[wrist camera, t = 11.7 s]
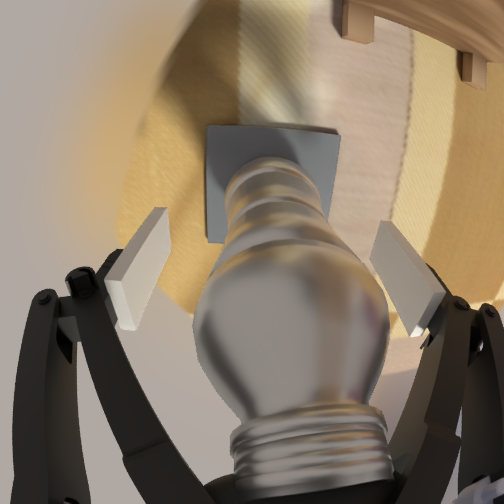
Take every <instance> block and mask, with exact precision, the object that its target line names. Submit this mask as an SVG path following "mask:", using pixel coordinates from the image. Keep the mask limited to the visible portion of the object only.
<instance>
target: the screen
mask: <svg viewBox="0 0 504 504" xmlns="http://www.w3.org/2000/svg"><path fill="white" fill-rule="evenodd" d="M374 15H375V16H379V17H382V18H385V19H388V20H391V21H393V22H396V23H399V24H402V25H404V26H407V27H409V28H412V29H414V30H417V31H419V32H421V33H424V34H426V35H428V36H430V37H432V38H435V39H437V40H439V41H441V42H443V43H445V44H447V45H449V46H451V47H453V48H454V49H456V50H458V51H460V52H462V53H463V67H462V81H463V82H464V83H466V84H468V85H470V86H472V87H474V88H476V89H481V90H486V73H487V62H494V63H504V0H343V15H342V38H343V39H347V40H351V41H355V42H359V43H363V44H368V43H371V42H374Z"/></svg>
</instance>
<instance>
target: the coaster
mask: <svg viewBox="0 0 504 504" xmlns="http://www.w3.org/2000/svg"><path fill="white" fill-rule="evenodd" d="M340 141H341V135H337V134H330V133H323V132H316V131H307V130H298V129H288V128H276V127H261V126H241V125H207V138H206V182H207V231H208V243H220V244H224V242H225V238H226V236H227V232H228V220H227V216H226V211H225V193H226V188H227V185H228V183H229V181H230V179H231V178H232V176H233V175H234V174H235V172H236V171H237V170H239V169H240V168H241V167H242V166H243V165H245V164H246V163H248V162H250V161H252V160H254V159H257V158H261V157H269V156H272V157H280V158H284V159H287V160H290V161H292V162H294V163H296V164H298V165H300V166H301V167H302V168H303V169H305V170H306V171H307V172H308V173H309V175H310V176H311V177H312V178H313V180H314V182H315V184H316V186H317V189H318V192H319V196H320V199H321V208H322V211H323V213H324V216H325V218H326V220H327V221H328V215H329V210H330V204H331V199H332V193H333V187H334V181H335V175H336V168H337V162H338V155H339V148H340Z"/></svg>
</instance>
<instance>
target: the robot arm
mask: <svg viewBox="0 0 504 504" xmlns="http://www.w3.org/2000/svg"><path fill="white" fill-rule="evenodd" d="M171 249H172V248H171V239H170V230H169V220H168V209H167V207H155V208H154V209H153V210H152V212H151V213H150V214H149V215H148V217H147V218H146V219H145V221H144V222H143V223H142V225H141V226H140V228H139V229H138V230H137V232H136V233H135V234H134V236H133V237H132V239H131V240H130V241H129V243H128V244H127V246H126V247H125V249H116V250H115V251H114V252H112V253H111V254H110V255H109V256H108V257H107V259H106V260H105V262H104V263H103V264H102V266H101V267H100V269H99V270H98V272H97V273H96V274H95V271H94V270H93V269H92V268H90V267H79V268H76V269H74V270H72V271H71V272H70V273H69V274H68V275H67V276H66V279H65V283H66V285H67V288H68V290H69V293H70V295H71V296H66V297H58V295H57V293H56V291H55V290H53V289H45V290H42V291H40V292H38V293H37V294H36V295H35V296H34V298H33V300H32V303H31V306H30V310H29V314H28V318H27V322H26V326H25V330H24V335H23V339H22V344H21V350H20V355H19V361H18V367H17V375H16V382H15V392H14V403H13V424H12V445H13V465H14V481H13V487H12V493H11V501H10V504H91V499H90V491H89V485H88V480H87V475H86V470H85V465H84V458H83V452H82V445H81V437H80V428H79V418H78V403H77V342H80V341H81V343H82V346H83V350H84V354H85V358H86V361H87V364H88V368H89V371H90V374H91V377H92V380H93V383H94V386H95V389H96V392H97V395H98V397H99V400H100V403H101V405H102V408H103V410H104V413H105V415H106V418H107V420H108V423H109V425H110V427H111V429H112V432H113V434H114V436H115V438H116V441H117V443H118V444H119V447H120V449H121V451H122V454H123V463H124V466H125V468H126V470H127V472H128V474H129V476H130V478H131V479H132V481H133V483H134V485H135V486H136V488H137V490H138V491H139V493H140V495H141V496H142V498H143V500H144V501H145V503H146V504H441V501H442V499H443V497H444V494H445V492H446V489H447V486H448V484H449V481H450V478H451V475H452V473H453V469H454V467H455V463H456V460H457V457H458V453H459V450H460V446H461V451H460V462H459V473H458V498H457V499H455V500H453V501H452V502H451V504H504V327H503V324H502V321H501V318H500V315H499V313H498V311H497V310H496V309H495V307H494V306H492V305H490V304H487V303H484V304H482V305H481V307H480V309H479V310H474V309H471V308H470V305H469V304H468V302H466V301H465V300H464V299H463V298H461V297H459V296H453V295H452V294H451V292H450V291H449V290H448V288H447V287H446V285H445V284H444V283H443V281H441V278H440V277H439V276H438V274H437V273H436V272H435V270H434V269H433V268H432V267H430V266H429V265H428V264H427V263H425V262H424V261H423V260H422V258H421V257H420V256H419V254H418V253H417V252H416V251H415V249H414V248H413V247H412V246H411V244H410V243H409V242H408V241H407V239H406V238H405V237H404V236H403V235H402V233H401V232H400V231H399V230H398V229H397V228H396V226H395V225H394V224H393V223H392V222H391V221H382V220H381V221H380V225H379V228H378V232H377V235H376V239H375V242H374V246H373V249H372V252H371V255H370V261H371V263H372V264H373V266H374V268H375V270H376V272H377V273H378V275H379V277H380V279H381V281H382V283H383V285H384V286H385V288H386V290H387V292H388V294H389V296H390V298H391V300H392V302H393V304H394V306H395V308H396V310H397V312H398V314H399V316H400V318H401V320H402V322H403V324H404V326H405V328H406V331H407V333H408V335H409V337H416V336H422V334H423V333H424V331H425V329H426V328H428V329H429V331H430V333H429V335H428V336H427V338H426V339H425V341H424V342H423V344H422V345H421V347H420V349H422V348H423V347H424V350H423V353H422V357H421V360H420V364H419V367H418V370H417V374H416V376H415V380H414V383H413V386H412V388H411V391H410V394H409V397H408V400H407V402H406V405H405V408H404V410H403V413H402V415H401V417H400V420H399V422H398V425H397V427H396V429H395V432H394V434H393V436H392V438H391V440H390V442H389V444H388V448H389V452H390V456H391V460H392V464H393V468H394V472H393V476H394V480H393V481H391V482H388V481H387V480H382V481H375V482H369V483H364V484H358V485H353V486H347V487H342V488H336V489H330V490H324V491H318V492H311V493H304V494H297V495H289V496H281V497H273V498H264V499H257V500H250V501H245V502H240V501H238V493H236V484H235V478H234V474H229V475H225V476H222V477H220V478H217V479H215V480H213V481H211V482H209V483H207V484H206V485H204V486H203V485H202V483H201V482H200V481H199V479H198V478H197V477H196V475H195V474H194V473H193V471H192V470H191V468H189V466H188V464H187V463H186V461H185V460H184V459H183V457H182V456H181V454H180V453H179V451H178V450H177V448H176V447H175V445H174V443H173V442H172V440H171V439H170V437H169V435H168V434H167V432H166V431H165V429H164V427H163V426H162V424H161V422H160V421H159V419H158V417H157V415H156V413H155V412H154V410H153V408H152V406H151V405H150V403H149V401H148V399H147V397H146V395H145V393H144V391H143V390H142V388H141V385H140V383H139V381H138V379H137V378H136V375H135V373H134V371H133V369H132V367H131V365H130V362H129V361H128V358H127V356H126V354H125V351H124V349H123V347H122V344H121V342H120V340H119V337H118V335H117V332H116V330H115V324H116V322H117V320H118V322H119V325H120V327H121V329H125V330H132V331H137V329H138V326H139V323H140V321H141V318H142V316H143V314H144V311H145V309H146V306H147V304H148V301H149V299H150V297H151V294H152V292H153V290H154V287H155V285H156V283H157V280H158V278H159V276H160V274H161V271H162V269H163V267H164V265H165V262H166V260H167V258H168V256H169V254H170V252H171ZM482 343H483V348H482V350H481V351H480V346H481V345H482ZM461 405H462V432H461V438H460V437H459V436H456V434H455V432H456V428H457V423H458V419H459V415H460V410H461Z"/></svg>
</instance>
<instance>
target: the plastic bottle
mask: <svg viewBox="0 0 504 504" xmlns="http://www.w3.org/2000/svg"><path fill="white" fill-rule="evenodd" d="M225 211H226V216H227V220H228V232H227V236H226V238H225V242H224V245H223V248H222V252H221V254H220V256H219V258H218V260H217V262H216V264H215V266H214V268H213V270H212V272H211V274H210V276H209V278H208V280H207V282H206V284H205V286H204V288H203V290H202V292H201V294H200V298H199V301H198V304H197V306H196V309H195V312H194V318H193V333H194V339H195V345H196V351H197V357H198V361H199V363H200V365H201V367H202V369H203V371H204V372H205V374H206V376H207V377H208V379H209V380H210V382H211V384H212V385H213V387H214V388H215V390H216V392H217V393H218V394H219V396H220V397H221V398H222V399H223V400H224V402H225V403H226V404H227V405H228V406H229V408H231V410H232V411H233V412H234V413H235V414H236V416H237V417H238V418H239V419H240V420H241V424H242V425H240V426H239V427H238V428H236V429H235V430H234V431H233V432H232V433H231V435H230V455H231V456H232V457H233V459H234V478H235V484H236V493H238V501H240V502H245V501H250V500H257V499H264V498H273V497H281V496H289V495H297V494H304V493H311V492H318V491H324V490H330V489H336V488H342V487H347V486H353V485H358V484H364V483H369V482H375V481H382V480H387V481H388V482H391V481H393V480H394V476H393V472H394V468H393V464H392V460H391V456H390V452H389V448H388V444H387V440H386V437H385V436H386V434H387V431H388V429H387V425H386V421H385V418H384V415H383V413H382V411H380V410H379V409H377V408H375V407H372V406H369V400H370V398H371V395H372V393H373V391H374V388H375V386H376V384H377V381H378V379H379V377H380V374H381V371H382V368H383V365H384V362H385V358H386V354H387V349H388V345H389V340H390V321H389V312H388V304H387V301H386V298H385V295H384V292H383V290H382V289H381V287H380V286H379V284H378V283H377V281H376V280H375V279H374V277H373V276H372V274H371V273H370V271H369V270H368V269H367V267H366V266H365V264H364V263H362V262H361V260H360V259H359V258H358V257H357V256H356V255H355V254H354V253H353V252H352V250H351V249H350V248H349V247H348V246H347V245H346V244H345V243H344V242H343V241H342V240H341V239H340V238H339V237H338V236H337V234H336V233H335V231H334V230H333V228H332V227H331V226H330V224H329V223H328V221H327V220H326V218H325V216H324V213H323V211H322V208H321V199H320V196H319V192H318V189H317V186H316V184H315V182H314V180H313V178H312V177H311V176H310V175H309V173H308V172H307V171H306V170H305V169H303V168H302V167H301V166H300V165H298V164H296V163H294V162H292V161H290V160H287V159H284V158H280V157H272V156H269V157H261V158H257V159H254V160H252V161H250V162H248V163H246V164H245V165H243V166H242V167H241V168H240V169H239V170H237V171H236V172H235V174H234V175H233V176H232V178H231V179H230V181H229V183H228V185H227V188H226V193H225Z"/></svg>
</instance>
